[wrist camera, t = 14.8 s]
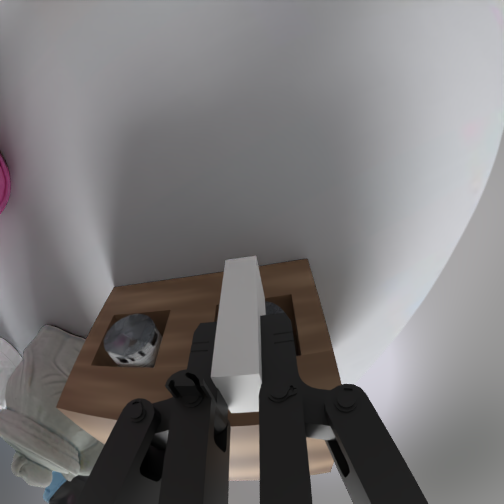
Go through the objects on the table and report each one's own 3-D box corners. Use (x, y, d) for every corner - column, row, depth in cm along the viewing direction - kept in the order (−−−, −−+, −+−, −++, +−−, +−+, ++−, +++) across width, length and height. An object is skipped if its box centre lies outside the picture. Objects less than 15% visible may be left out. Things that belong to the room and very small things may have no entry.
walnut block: (313, 367, 27) (330, 471, 17) (172, 380, 29) (155, 474, 19) (307, 258, 20) (347, 411, 10) (113, 287, 22) (55, 407, 11)
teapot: (104, 403, 34) (78, 504, 18) (26, 348, 28) (-20, 449, 12) (161, 379, 29) (134, 528, 13) (54, 301, 23) (-24, 455, 7)
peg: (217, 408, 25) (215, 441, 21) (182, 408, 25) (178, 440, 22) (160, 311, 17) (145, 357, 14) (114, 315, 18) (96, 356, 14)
